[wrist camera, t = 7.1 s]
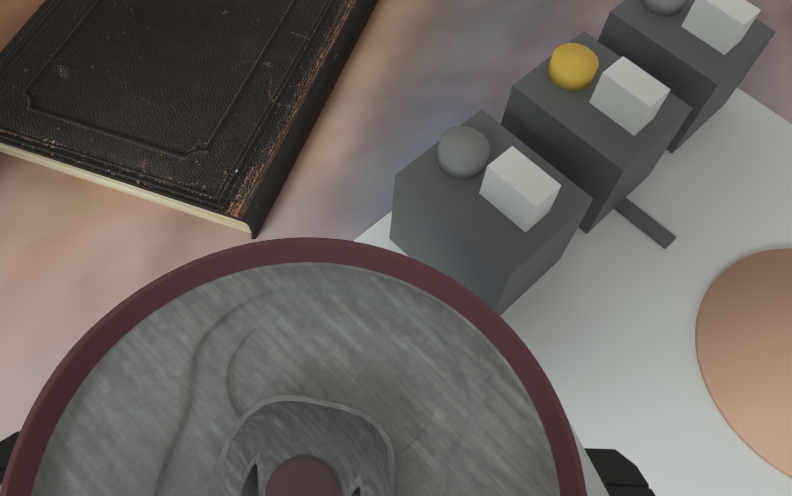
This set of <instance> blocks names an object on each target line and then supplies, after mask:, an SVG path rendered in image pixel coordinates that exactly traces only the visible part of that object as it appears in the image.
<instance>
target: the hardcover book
mask: <svg viewBox="0 0 792 496" xmlns="http://www.w3.org/2000/svg"><path fill="white" fill-rule="evenodd" d="M377 1H378V0H45V2H44V3H43V4H42V5H41V6H40V7H39V9H38V10H37V11H36V12H35V13H34V14H33V15H32V17H31V18H30V19H29V20H28V21H27V22H26V24H25V25H24V26H23V27H22V28H21V29H20V30H19V32H18V33H17V34H16V35H15V36H14V37H13V38H12V40H11V41H10V42H9V43H8V44H7V45H6V47H5V48H4V49H3V50H2V51H1V52H0V152H3V153H6V154H9V155H12V156H15V157H18V158H21V159H24V160H27V161H30V162H33V163H36V164H39V165H42V166H45V167H48V168H51V169H54V170H57V171H60V172H63V173H67V174H70V175H73V176H76V177H79V178H82V179H85V180H88V181H91V182H94V183H97V184H100V185H103V186H106V187H109V188H112V189H115V190H118V191H121V192H124V193H127V194H130V195H133V196H136V197H139V198H142V199H145V200H148V201H152V202H155V203H158V204H161V205H164V206H167V207H170V208H173V209H176V210H179V211H182V212H185V213H188V214H191V215H194V216H197V217H200V218H203V219H206V220H209V221H212V222H215V223H218V224H221V225H224V226H227V227H230V228H233V229H237V230H240V231H243V232H246V233H249V234H251V236H252V238H251V239H256V237H257V235H258V233H259V231H260V229H261V227H262V225H263V223H264V221H265V219H266V217H267V215H268V213H269V211H270V210H271V208H272V206H273V204H274V202H275V200H276V198H277V196H278V194H279V192H280V190H281V188H282V186H283V184H284V182H285V180H286V178H287V176H288V174H289V173H290V171H291V169H292V167H293V165H294V163H295V161H296V159H297V157H298V155H299V153H300V151H301V149H302V147H303V145H304V143H305V141H306V139H307V137H308V135H309V134H310V132H311V130H312V128H313V126H314V124H315V122H316V120H317V118H318V116H319V114H320V112H321V110H322V108H323V106H324V104H325V102H326V100H327V98H328V97H329V95H330V93H331V91H332V89H333V87H334V85H335V83H336V81H337V79H338V77H339V75H340V73H341V71H342V69H343V67H344V65H345V63H346V61H347V59H348V58H349V56H350V54H351V52H352V50H353V48H354V46H355V44H356V42H357V40H358V38H359V36H360V34H361V32H362V30H363V28H364V26H365V24H366V22H367V21H368V19H369V17H370V15H371V13H372V11H373V9H374V7H375V5H376V3H377Z"/></svg>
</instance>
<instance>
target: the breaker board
mask: <svg viewBox="0 0 792 496" xmlns="http://www.w3.org/2000/svg"><path fill="white" fill-rule="evenodd" d="M760 11H761V10H760V9H758V8H757V7H755V6H754V5H752V4H750V3H749V2H747V1H746V0H625V1H623V2H622V3H621V4H620V5H618V6H617V7H616V8H614V9H613V10H612V11H610V13H609V16H608V18H607V21H606V23H605V25H604V28H603V30H602V32H601V35H600V37H599V40H598V41H597V40H595V39H594V38H593V37H591V36H590V35H588V34H587V33H585V32H583V33H581V34H580V35H579V36H577V37H576V38H575V39H573V40H572V41H571V42H570V43H566V44H562V45H560V46H558V47H557V48H556V49H555V50H554V52H553V55H552V56H551V57H550V58H549V59H547V60H546V61H545V62H543V63H542V64H541V65H539V66H538V67H537V68H535V69H534V70H533V71H531V72H530V73H529V74H527V75H526V76H525V77H524V78H522V79H521V80H520V81H518V82H517V83H516V84H514V85H513V86H512V90H511V93H510V96H509V100H508V103H507V106H506V110H505V113H504V116H503V120H502V123H501V125H500V124H499V123H498V122H497V121H495V120H494V119H493V118H492V117H490V116H489V115H488V114H486V113H485V112H484V111H483V110H480V111H479V112H477V113H476V114H475V115H474V116H472V117H471V118H470V119H468V120H467V121H466V122H464V123H463V124H462V125H460V126H459V127H454V128H451V129H449V130H447V131H446V132H445V133H444V134H443V135H442V136H441V138H440V141H439V142H438V143H437V144H435V145H434V146H433V147H431V148H430V149H429V150H428V151H426V152H425V153H424V154H422V155H421V156H420V157H418V158H417V159H416V160H414V161H413V162H412V163H410V164H409V165H408V166H406V167H405V168H404V169H403V170H401V171H400V172H399V173H397V174H396V179H395V189H394V198H393V208H392V211H391V212H389V213H388V214H387V215H386V216H384V217H383V218H382V219H381V220H379V221H378V222H377V223H375V224H374V225H373V226H372V227H370V228H369V229H368V230H367V231H365V232H364V233H363V234H361V235H360V236H359V237H358V238H356V239H355V240H354V242H359V243H365V244H369V245H373V246H377V247H381V248H385V249H388V250H391V251H394V252H397V253H400V254H403V255H405V256H408V257H410V258H413V259H415V260H418V261H420V262H422V263H424V264H426V265H428V266H430V267H433V268H435V269H436V270H438V271H440V272H442V273H443V274H445V275H447V276H449V277H450V278H452V279H454V280H455V281H457V282H458V283H460V284H461V285H463V286H464V287H466V288H467V289H469V290H470V291H471V292H472V293H474V294H475V295H476V296H478V297H479V298H480V299H481V300H483V301H484V302H485V303H486V304H487V305H488V306H490V307H491V308H492V309H493V310H494V311H495V312H496V313H497V314H498V315H499V316H500V317H501V318H502V319H503V320H504V321H505V322H506V323H507V324H508V325H509V326H510V327H511V328H512V329H513V330H514V331H515V333H516V334H517V335H518V336H519V337H525V339H526V341H527V343H528V345H529V346H530V348H531V350H532V352H533V354H534V356H535V358H536V359H537V361H538V363H539V364H540V366H541V367H542V369H543V371H544V372H545V374H546V375H547V377H548V379H549V381H550V382H551V384H552V386H553V388H554V390H555V392H556V394H557V396H558V398H559V400H560V402H561V404H562V407H563V409H564V411H565V414H566V416H567V417H568V419H569V421H570V423H571V425H572V427H573V429H574V430H575V432H576V434H577V436H578V438H579V440H580V442H581V444H582V445H583V447H584V448H594V449H616V450H617V451H618V452H619V453H621V454H622V455H623V456H625V457H626V458H627V459H628V460H630V461H631V462H632V463H634V464H635V465H636V466H637V467H638V469H639V470H640V472H641V473H642V475H643V477H644V478H645V480H646V481H647V483H648V484H649V489H652V491H653V492H654V494H655V495H656V496H792V124H791V123H789V122H788V121H786V120H785V119H783V118H782V117H781V116H779V115H778V114H776V113H775V112H773V111H772V110H770V109H769V108H767V107H766V106H764V105H763V104H761V103H760V102H758V101H757V100H755V99H754V98H752V97H751V96H749V95H748V94H746V93H745V92H744V91H742V90H741V89H739V88H738V87H737V86H738V85H739V84H740V82H741V81H742V79H743V78H744V76H745V75H746V74H747V72H748V71H749V69H750V68H751V66H752V65H753V64H754V62H755V61H756V59H757V58H758V56H759V55H760V54H761V52H762V51H763V49H764V48H765V47H766V45H767V44H768V42H769V41H770V39H771V38H772V37H773V35H774V34H775V31H773V30H772V29H770V28H769V27H767V26H766V25H764V24H762V23H761V22H759V21H758V20H756V19H755V18H756V17H757V15H758V14H759V12H760Z"/></svg>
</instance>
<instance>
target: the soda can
mask: <svg viewBox="0 0 792 496" xmlns="http://www.w3.org/2000/svg"><path fill="white" fill-rule="evenodd" d="M0 496H587V491H586V485H585V479H584V474H583V469H582V464H581V460H580V456H579V452H578V449H577V445H576V441H575V438H574V435H573V432H572V430H571V427H570V424H569V421H568V418H567V416H566V414H565V411H564V409H563V407H562V404H561V402H560V400H559V398H558V396H557V394H556V392H555V390H554V388H553V386H552V384H551V382H550V381H549V379H548V377H547V375H546V374H545V372H544V371H543V369H542V367H541V366H540V364H539V363H538V361H537V360H536V358H535V357H534V356H533V354H532V353H531V351H530V350H529V349H528V347H527V346H526V344H525V343H524V342H523V341H522V340H521V339H520V337H519V336H518V335H517V334H516V333H515V331H514V330H513V329H512V328H511V327H510V326H509V325H508V324H507V323H506V322H505V321H504V320H503V319H502V318H501V317H500V316H499V315H498V314H497V313H496V312H495V311H494V310H493V309H492V308H491V307H490V306H488V305H487V304H486V303H485V302H484V301H483V300H481V299H480V298H479V297H478V296H476V295H475V294H474V293H472V292H471V291H470V290H469V289H467V288H466V287H464V286H463V285H461V284H460V283H458V282H457V281H455V280H454V279H452V278H450V277H449V276H447V275H445V274H443V273H442V272H440V271H438V270H436V269H435V268H433V267H430V266H428V265H426V264H424V263H422V262H420V261H418V260H415V259H413V258H410V257H408V256H405V255H403V254H400V253H397V252H394V251H391V250H388V249H385V248H381V247H377V246H373V245H369V244H365V243H359V242H354V241H348V240H340V239H330V238H308V237H306V238H284V239H274V240H266V241H260V242H255V243H249V244H245V245H241V246H236V247H232V248H228V249H225V250H222V251H219V252H216V253H213V254H210V255H207V256H204V257H202V258H199V259H197V260H194V261H192V262H189V263H187V264H185V265H183V266H181V267H179V268H177V269H174V270H172V271H171V272H169V273H167V274H165V275H163V276H161V277H159V278H158V279H156V280H154V281H152V282H151V283H149V284H148V285H146V286H144V287H143V288H141V289H140V290H138V291H137V292H135V293H134V294H132V295H131V296H130V297H128V298H127V299H125V300H124V301H123V302H121V303H120V304H118V305H117V306H116V307H115V308H114V309H112V310H111V311H110V312H109V313H107V314H106V315H105V316H104V317H102V318H101V319H100V320H99V321H98V322H97V323H96V324H95V325H94V326H93V327H92V328H91V329H90V330H88V331H87V332H86V333H85V334H84V336H83V337H82V338H81V339H80V340H79V341H78V342H77V343H76V344H75V345H74V346H73V347H72V349H71V350H70V351H69V352H68V353H67V355H66V356H65V357H64V359H63V360H62V361H61V362H60V364H59V365H58V366H57V367H56V369H55V370H54V372H53V373H52V375H51V376H50V378H49V379H48V381H47V382H46V384H45V385H44V387H43V389H42V390H41V392H40V394H39V396H38V397H37V399H36V401H35V403H34V404H33V406H32V408H31V410H30V412H29V414H28V416H27V418H26V420H25V422H24V425H23V427H22V429H21V431H20V433H19V436H18V438H17V441H16V443H15V446H14V448H13V451H12V453H11V456H10V459H9V462H8V465H7V468H6V471H5V474H4V478H3V482H2V485H1V489H0Z"/></svg>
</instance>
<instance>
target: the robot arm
mask: <svg viewBox="0 0 792 496" xmlns="http://www.w3.org/2000/svg"><path fill="white" fill-rule="evenodd" d="M520 339H521V340H522V341H523V342H524V343H525V344H526V346H527V347H528V349H529V350H530V351H531V353H532V354H533V352H532V350H531V348H530V346H529V345H528V343H527V341H526V339H525V337H520ZM533 356H534V354H533ZM534 357H535V356H534ZM536 360H537V359H536ZM567 418H568V417H567ZM568 421H569V419H568ZM569 424H570V427H571V430H572V432H573V435H574V438H575V441H576V445H577V449H578V452H579V456H580V460H581V464H582V469H583V474H584V479H585V485H586V491H587V496H656V495H655V494H654V492H653V491H652V489H649V484H648V483H647V481H646V480H645V478H644V477H643V475H642V473H641V472H640V470H639V469H638V467H637V466H636V465H635V464H634V463H632V462H631V461H630V460H628V459H627V458H626V457H625V456H623V455H622V454H621V453H619V452H618V451H617V450H616V449H594V448H584V447H583V445H582V444H581V442H580V440H579V438H578V436H577V434H576V432H575V430H574V429H573V427H572V425H571V423H570V421H569ZM19 433H20V432H16V433H14V434H12V435H11V436H9V437H7V438H6V439H4V440H2V441H0V489H1V485H2V482H3V478H4V474H5V471H6V468H7V465H8V462H9V459H10V456H11V453H12V451H13V448H14V446H15V443H16V441H17V438H18V436H19Z"/></svg>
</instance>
